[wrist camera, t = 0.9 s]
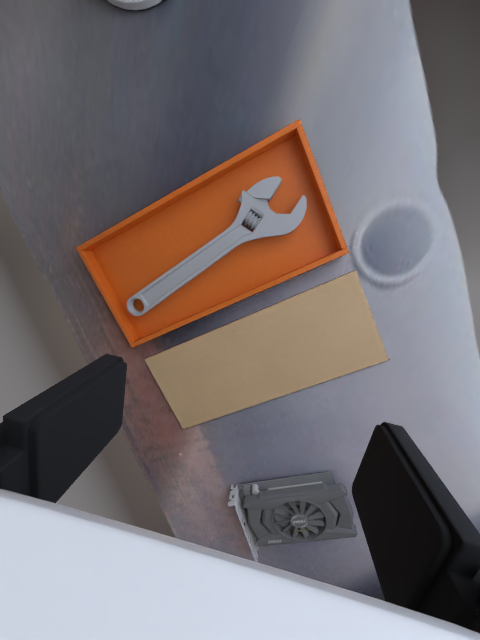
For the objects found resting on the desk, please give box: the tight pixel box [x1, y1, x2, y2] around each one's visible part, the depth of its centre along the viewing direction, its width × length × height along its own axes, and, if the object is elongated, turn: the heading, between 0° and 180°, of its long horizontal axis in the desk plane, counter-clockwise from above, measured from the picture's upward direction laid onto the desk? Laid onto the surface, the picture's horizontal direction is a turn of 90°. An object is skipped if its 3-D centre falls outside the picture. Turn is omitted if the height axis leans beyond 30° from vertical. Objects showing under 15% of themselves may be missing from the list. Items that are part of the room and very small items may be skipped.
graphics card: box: [228, 471, 358, 562], centre depth 39 cm, size 17×4×12 cm
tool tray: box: [76, 119, 349, 348], centre depth 32 cm, size 14×29×2 cm, turn 115°
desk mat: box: [145, 271, 389, 429], centre depth 35 cm, size 12×30×1 cm, turn 115°
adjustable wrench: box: [127, 176, 307, 316], centre depth 32 cm, size 25×6×2 cm, turn 119°
